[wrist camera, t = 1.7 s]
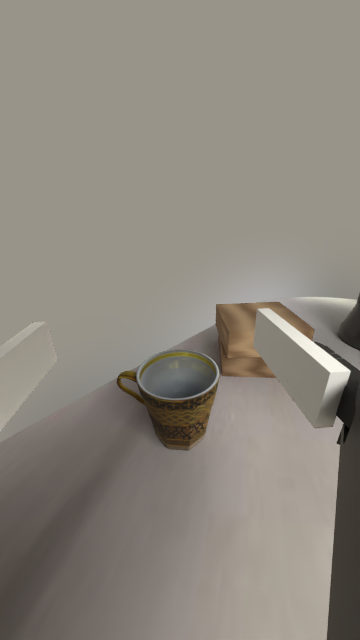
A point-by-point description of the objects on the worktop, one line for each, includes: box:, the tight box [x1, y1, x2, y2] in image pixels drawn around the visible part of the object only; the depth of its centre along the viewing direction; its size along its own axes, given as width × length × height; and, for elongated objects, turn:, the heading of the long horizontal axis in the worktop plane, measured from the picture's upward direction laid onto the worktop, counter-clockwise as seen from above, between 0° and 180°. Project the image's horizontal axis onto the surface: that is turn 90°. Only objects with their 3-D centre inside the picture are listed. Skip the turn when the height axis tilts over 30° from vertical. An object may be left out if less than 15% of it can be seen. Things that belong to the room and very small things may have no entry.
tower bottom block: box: [218, 335, 276, 378], centre depth 45 cm, size 14×14×5 cm
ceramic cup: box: [117, 349, 219, 450], centre depth 29 cm, size 13×10×10 cm
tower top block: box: [216, 302, 314, 358], centre depth 43 cm, size 14×14×5 cm
